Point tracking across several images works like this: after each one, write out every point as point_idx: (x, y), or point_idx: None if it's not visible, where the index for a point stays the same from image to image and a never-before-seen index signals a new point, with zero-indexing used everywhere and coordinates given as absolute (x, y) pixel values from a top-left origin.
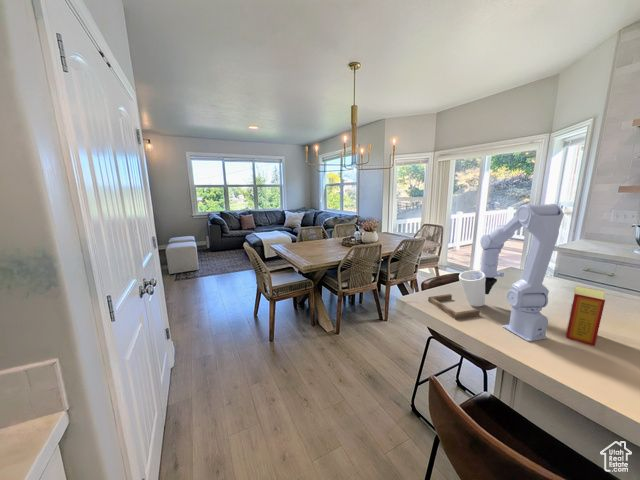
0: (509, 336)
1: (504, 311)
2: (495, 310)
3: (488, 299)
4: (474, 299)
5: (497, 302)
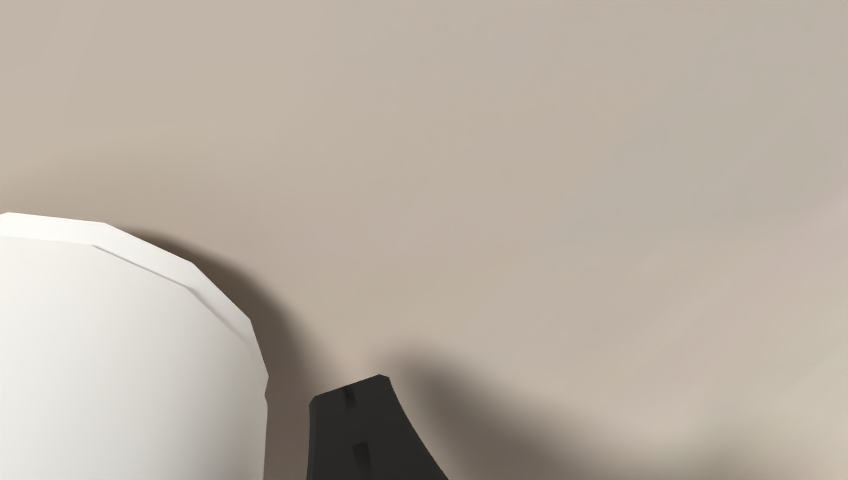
0: None
1: (459, 469)
2: None
3: (533, 62)
4: None
5: (604, 196)
